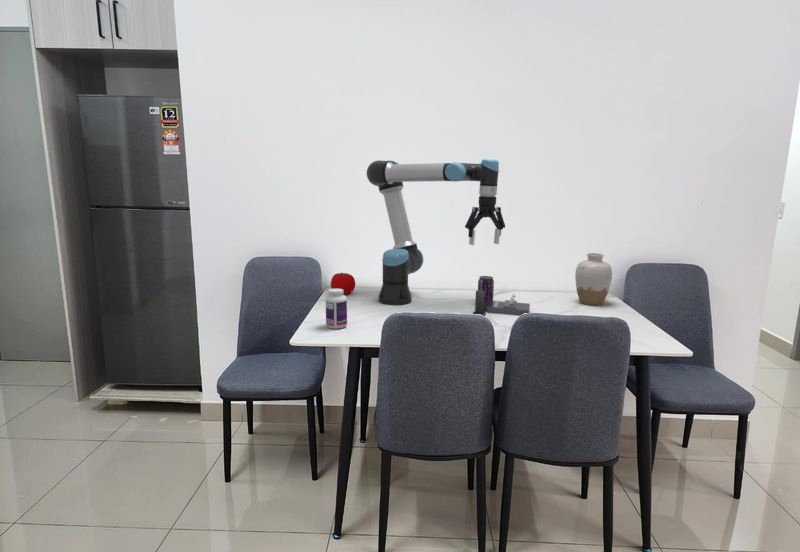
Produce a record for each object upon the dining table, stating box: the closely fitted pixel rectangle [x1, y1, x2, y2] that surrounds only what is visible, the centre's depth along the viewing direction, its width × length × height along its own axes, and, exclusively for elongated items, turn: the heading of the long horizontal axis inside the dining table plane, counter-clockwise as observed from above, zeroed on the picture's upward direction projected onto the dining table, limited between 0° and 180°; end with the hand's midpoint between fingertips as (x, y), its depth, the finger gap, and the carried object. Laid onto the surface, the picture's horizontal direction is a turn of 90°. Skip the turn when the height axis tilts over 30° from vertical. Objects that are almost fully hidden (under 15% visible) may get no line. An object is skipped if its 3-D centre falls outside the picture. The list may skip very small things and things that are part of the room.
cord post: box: [472, 289, 486, 317], centre depth 223 cm, size 5×5×10 cm
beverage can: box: [477, 275, 495, 301], centre depth 243 cm, size 7×7×12 cm
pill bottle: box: [325, 288, 348, 330], centre depth 203 cm, size 8×8×14 cm
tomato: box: [330, 272, 356, 296], centre depth 257 cm, size 12×12×10 cm
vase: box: [574, 252, 613, 306], centre depth 245 cm, size 16×16×23 cm
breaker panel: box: [484, 299, 531, 316], centre depth 231 cm, size 22×12×4 cm, turn 74°
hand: (484, 244), depth 236 cm, fingers open, 13 cm apart
